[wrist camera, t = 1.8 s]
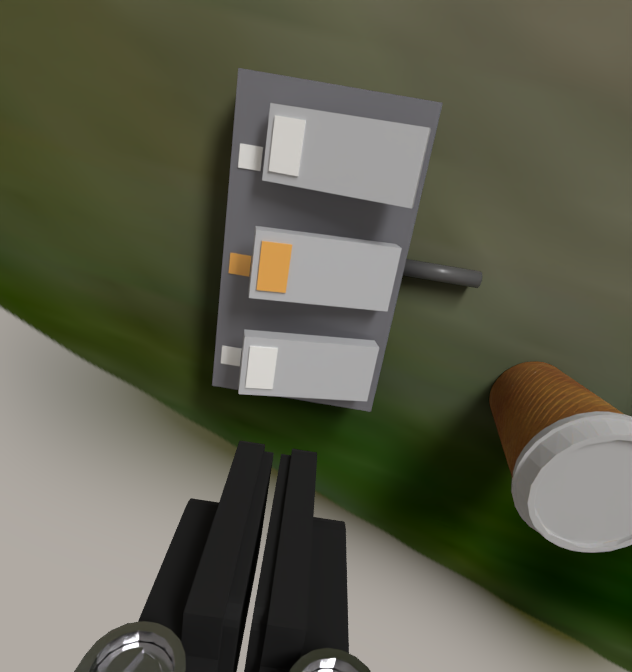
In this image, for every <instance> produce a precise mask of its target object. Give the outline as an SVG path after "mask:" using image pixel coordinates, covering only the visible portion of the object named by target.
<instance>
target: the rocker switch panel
mask: <svg viewBox="0 0 632 672" xmlns="http://www.w3.org/2000/svg"><path fill="white" fill-rule="evenodd" d="M270 103H274V104H281V105H287V106H294V107H300V108H306V109H313V110H319V111H326V112H332V113H338V114H345V115H351V116H358V117H364V118H370V119H377V120H383V121H390V122H396V123H402V124H409V125H415V126H422V127H428V128H430V129H431V131H430V135H429V140H428V144H427V148H426V153H425V157H424V161H423V166H422V170H421V175H420V179H419V183H418V188H417V192H416V197H415V201H414V205H413V208H412V209H411V208H406V207H401V206H395V205H390V204H385V203H380V202H374V201H369V200H364V199H358V198H353V197H348V196H343V195H337V194H332V193H327V192H321V191H316V190H311V189H306V188H300V187H295V186H290V185H284V184H279V183H274V182H269V181H263V180H262V176H263V167H264V158H265V149H266V139H267V130H268V121H269V112H270ZM441 108H442V103H440V102H435V101H429V100H423V99H417V98H411V97H405V96H399V95H394V94H388V93H382V92H376V91H370V90H364V89H358V88H353V87H347V86H341V85H335V84H329V83H323V82H317V81H312V80H306V79H300V78H294V77H288V76H282V75H276V74H271V73H265V72H259V71H253V70H247V69H241V68H238V80H237V92H236V104H235V116H234V128H233V140H232V152H231V164H230V176H229V188H228V201H227V213H226V225H225V237H224V249H223V261H222V273H221V285H220V297H219V309H218V321H217V333H216V345H215V357H214V370H213V382H212V386H218V387H224V388H230V389H236V390H238V384H239V375H240V366H241V356H242V347H243V337H244V329H246V330H258V331H270V332H281V333H293V334H305V335H317V336H328V337H340V338H352V339H364V340H375V342H376V343H377V345H378V346H379V351H378V355H377V360H376V364H375V369H374V373H373V378H372V382H371V386H370V391H369V395H368V400H367V401H351V400H333V399H316V398H298V397H285V398H291V399H297V400H303V401H309V402H315V403H321V404H327V405H333V406H340V407H346V408H352V409H358V410H364V411H370V412H371V409H372V405H373V400H374V396H375V392H376V387H377V383H378V379H379V374H380V370H381V366H382V362H383V357H384V353H385V349H386V344H387V340H388V336H389V331H390V327H391V323H392V319H393V314H394V310H395V306H396V301H397V297H398V293H399V288H400V284H401V280H402V276H409V277H415V278H421V279H427V280H433V281H439V282H445V283H451V284H457V285H463V286H469V287H475V288H478V287H479V286H480V284H481V281H482V272H481V271H475V270H469V269H463V268H457V267H451V266H445V265H439V264H433V263H427V262H421V261H415V260H409V259H406V258H407V254H408V250H409V245H410V241H411V237H412V233H413V228H414V224H415V220H416V215H417V211H418V207H419V202H420V198H421V194H422V190H423V185H424V181H425V177H426V172H427V168H428V164H429V159H430V155H431V151H432V146H433V142H434V138H435V134H436V129H437V125H438V121H439V116H440V112H441ZM255 226H261V227H269V228H277V229H284V230H292V231H300V232H307V233H315V234H323V235H331V236H338V237H346V238H354V239H361V240H369V241H377V242H385V243H392V244H397V245H398V246H399V247H401V248H402V250H401V254H400V259H399V263H398V267H397V272H396V276H395V281H394V285H393V289H392V294H391V298H390V303H389V307H388V311H376V310H366V309H356V308H346V307H336V306H326V305H316V304H305V303H295V302H285V301H275V300H265V299H255V298H249V294H248V291H249V281H250V272H251V262H252V253H253V244H254V234H255ZM279 397H281V396H279Z"/></svg>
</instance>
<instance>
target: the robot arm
mask: <svg viewBox="0 0 632 672" xmlns="http://www.w3.org/2000/svg"><path fill="white" fill-rule="evenodd" d="M264 450H265V444H258V443H252V442H245V441H240V442H239V444H238V447H237V450H236V453H235V456H234V459H233V462H232V465H231V468H230V472H229V475H228V478H227V481H226V484H225V487H224V490H223V493H222V496H221V499H220V502H219V503H217V502H211V501H204V500H198V499H190V500H189V501H188V504H187V506H186V508H185V510H184V513H183V515H182V517H181V520H180V522H179V525H178V527H177V529H176V532H175V534H174V537H173V539H172V541H171V544H170V546H169V549H168V551H167V553H166V556H165V558H164V561H163V563H162V565H161V568H160V570H159V573H158V575H157V578H156V580H155V582H154V585H153V587H152V590H151V592H150V594H149V597H148V599H147V602H146V604H145V606H144V609H143V611H142V614H141V616H140V618H139V621H138V622H134V623H127V624H125V625H123V626H120V627H118V628H116V629H113V630H111V631H110V632H108V633H107V634H106V635H104V636H103V637H102V638H100V639H99V640H98V641H97V642H96V643H95V644H94V645H93V646H92V648H91V649H90V650H89V651H88V652H87V653H86V655H85V656H84V657H83V659H82V661H81V663H80V664H79V665H78V667H77V668H76V670H75V671H74V672H236V671H237V666H238V661H239V656H240V650H241V645H242V640H243V634H244V629H245V624H246V617H247V613H248V608H249V603H250V597H251V592H252V586H253V581H254V576H255V571H256V565H257V560H258V554H259V548H260V541H261V535H262V528H263V521H264V515H265V514H264V513H265V508H266V501H267V494H268V488H269V487H268V486H269V481H270V474H271V467H272V461H273V453H271V452H265V451H264ZM316 464H317V453H316V452H310V451H303V450H297V449H292V454H291V455H284V454H281V459H280V465H279V471H278V476H277V482H276V488H275V494H274V499H273V505H272V510H271V516H270V522H269V528H268V533H267V539H266V545H265V550H264V556H263V562H262V567H261V573H260V578H259V584H258V590H257V595H256V601H255V607H254V613H253V619H252V625H251V631H250V637H249V644H248V651H247V657H246V664H245V670H244V672H370V670H369V668H368V667H367V666H366V665H365V664H363V663H362V662H361V661H360V660H359V659H358V658H357V657H355V656H353V655H351V654H349V643H348V605H347V604H348V602H347V565H346V564H347V563H346V528H345V522H343V521H336V520H330V519H323V518H316V517H313V513H314V497H315V481H316Z"/></svg>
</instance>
